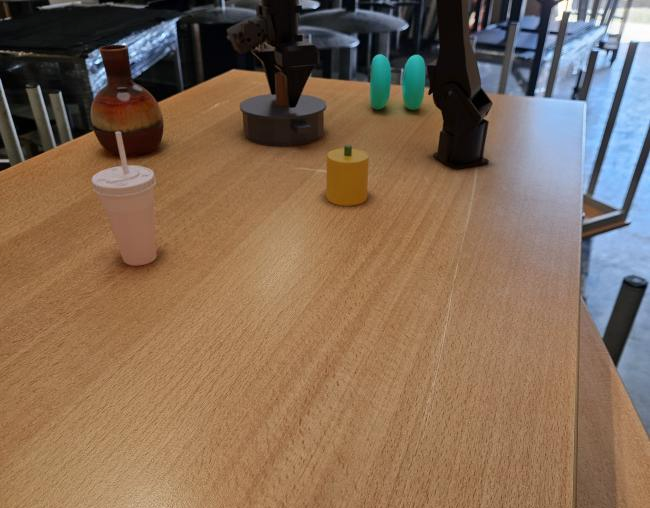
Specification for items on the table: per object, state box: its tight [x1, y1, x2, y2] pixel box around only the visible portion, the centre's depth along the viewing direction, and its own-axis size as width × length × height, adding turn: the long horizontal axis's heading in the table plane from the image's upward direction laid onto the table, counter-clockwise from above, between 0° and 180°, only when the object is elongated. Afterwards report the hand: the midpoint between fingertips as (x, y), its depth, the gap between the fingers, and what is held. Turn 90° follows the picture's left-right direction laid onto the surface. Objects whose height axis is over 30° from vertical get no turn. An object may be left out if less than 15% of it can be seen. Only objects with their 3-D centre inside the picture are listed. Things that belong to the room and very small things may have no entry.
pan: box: [241, 111, 325, 147], centre depth 101 cm, size 14×19×4 cm
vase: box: [89, 44, 164, 157], centre depth 90 cm, size 11×11×15 cm
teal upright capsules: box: [369, 53, 426, 111], centre depth 112 cm, size 10×10×10 cm
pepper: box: [325, 144, 370, 207], centre depth 77 cm, size 6×6×7 cm
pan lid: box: [239, 72, 327, 120], centre depth 98 cm, size 15×15×6 cm
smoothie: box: [91, 132, 158, 267], centre depth 61 cm, size 6×6×14 cm
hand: (283, 100), depth 99 cm, fingers open, 9 cm apart
